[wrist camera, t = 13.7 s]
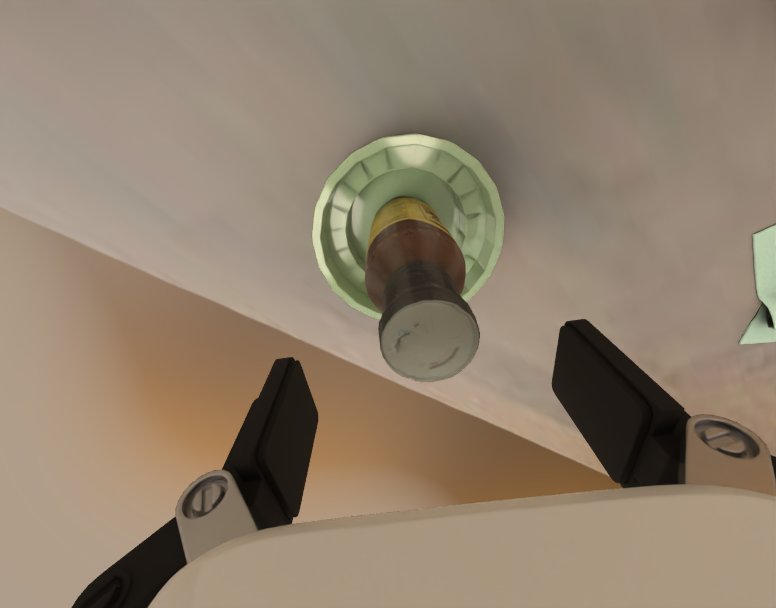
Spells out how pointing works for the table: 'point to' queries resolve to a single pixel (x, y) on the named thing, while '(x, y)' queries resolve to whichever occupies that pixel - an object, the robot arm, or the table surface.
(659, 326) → the table surface
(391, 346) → the sauce bottle
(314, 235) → the bowl
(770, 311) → the cloth
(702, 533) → the robot arm
